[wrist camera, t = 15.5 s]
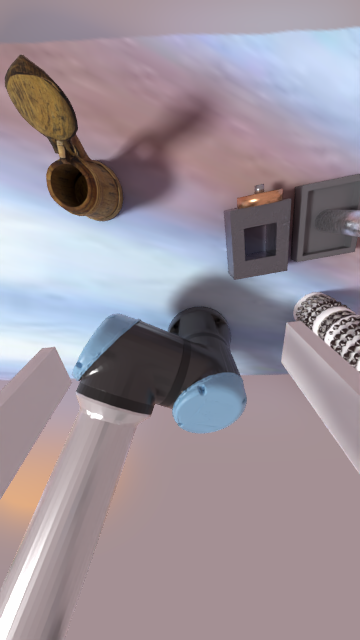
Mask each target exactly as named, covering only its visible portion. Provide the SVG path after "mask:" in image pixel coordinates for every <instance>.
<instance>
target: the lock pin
mask: <svg viewBox="0 0 360 640" xmlns="http://www.w3.org/2000/svg"><path fill="white" fill-rule="evenodd" d="M315 227H316V228H317V229H318V230H320V231H326V232H332V233H338V234H344V235H350V236H356V237H360V210H324V211H322V212H321V213H320V214H319V215H318V216H317V218H316V220H315Z"/></svg>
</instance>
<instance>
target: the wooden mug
mask: <svg viewBox="0 0 360 640" xmlns="http://www.w3.org/2000/svg"><path fill="white" fill-rule="evenodd" d="M5 87H6V89H7V92H8V94H9V96H10V99H11V101H12V102H13V104H14V105H15V107H16V109H17V110H18V111H19V113H20V114H21V116H22V117H23V118H24V119H25V120H26V121H27V122H28V123H29V124H30V125H31V126H32V127H34V128H35V129H36V130H38V131H39V132H40V133H41V134H43V135H44V136H46V137H47V138H48V139H49V141H50V143H51V145H52V146H53V149H54V151H55V153H57V154H59V156H60V159H59V160H57V161H55V162H54V163H52V164H51V165H50V166H49V168H48V170H47V174H46V180H47V187H48V190H49V192H50V195H51V197H52V198H53V199H54V201H55V202H57V203H58V204H59V205H60V206H61V207H63V208H64V209H65V210H67V211H68V212H70V213H72V214H75V215H78V216H87V217H89V218H91V219H94V220H97V221H107V220H110V219H112V218H114V217H115V216H116V215H117V214H118V213H119V212H120V210H121V208H122V204H123V192H122V188H121V185H120V182H119V180H118V178H117V177H116V175H115V174H114V172H113V171H112V170H111V169H109V168H108V167H107V166H105V165H104V164H102V163H100V162H99V161H96V160H91V159H90V158H89V157H88V155H87V154H86V152H85V150H84V148H83V146H82V144H81V142H80V141H79V139H78V137H77V135H76V132H77V130H78V125H77V119H76V115H75V112H74V110H73V107H72V105H71V103H70V101H69V99H68V98H67V97H66V95H65V94H64V92H63V91H62V90H61V88H60V87H59V86H58V85H57V84H56V83H55V82H54V81H53V80H52V79H51V78H50V77H49V76H48V75H47V74H46V73H45V71H43V70H42V69H41V68H39V67H38V66H37V65H35V64H34V63H33V62H31V61H30V60H29V59H28V58H26V57H25V56H24V55H20V56H19V57H18V58H17V59H16V60H15V61H14V62H13V63H12V65H11V66H10V68H9V69H8V71H7V73H6V76H5Z"/></svg>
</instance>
